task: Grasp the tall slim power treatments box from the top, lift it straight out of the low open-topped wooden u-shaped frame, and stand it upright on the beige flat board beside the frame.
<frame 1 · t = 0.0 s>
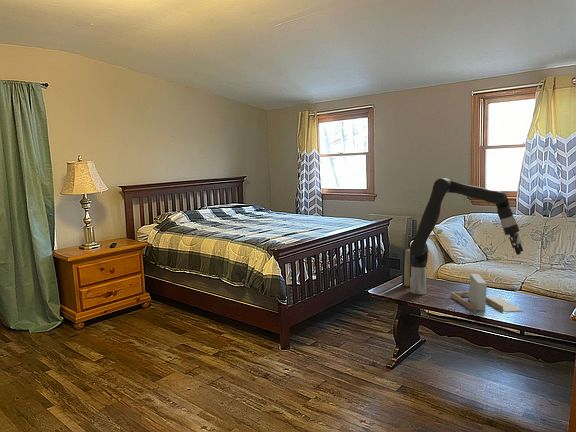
hand: (520, 252, 242), 31 cm above the table, tool tilted 20°, fingers open, 8 cm apart
skincare box: (477, 305, 252), resting in wooden u-shaped frame
book: (414, 283, 299), on the table
wooden u-shaped frame: (477, 304, 252), on the table
beige flat board: (502, 304, 251), on the table
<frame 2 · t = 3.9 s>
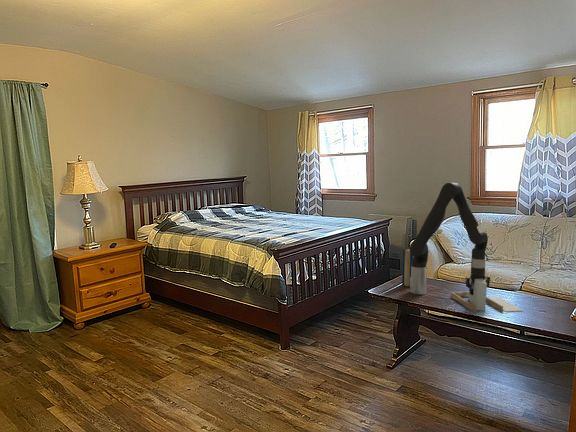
hand: (477, 294, 252), 6 cm above the table, tool pointing down, fingers closed on skincare box, 6 cm apart
skincare box: (477, 305, 252), resting in wooden u-shaped frame, touching gripper
everything else where it was.
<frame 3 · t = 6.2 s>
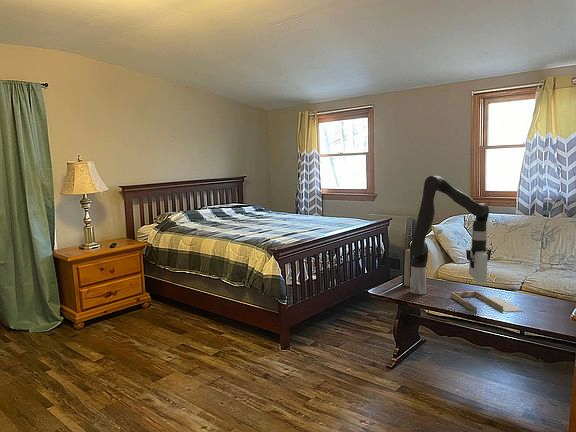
hand: (477, 267, 250), 22 cm above the table, tool pointing down, fingers closed on skincare box, 6 cm apart
skincare box: (477, 278, 251), point 16 cm above the table, touching gripper
everything else where it was.
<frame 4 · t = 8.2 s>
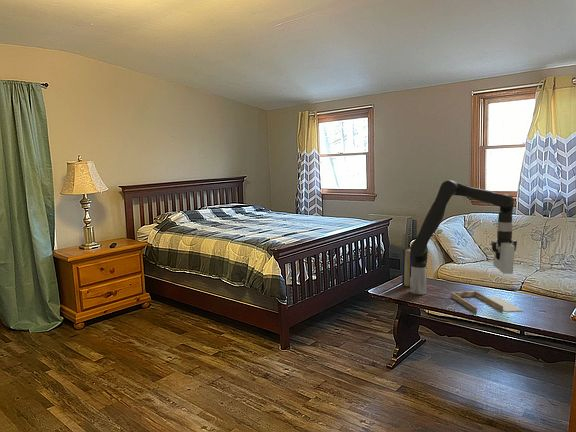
hand: (503, 258, 248), 27 cm above the table, tool pointing down, fingers closed on skincare box, 6 cm apart
skincare box: (503, 269, 249), point 20 cm above the table, touching gripper
everything else where it was.
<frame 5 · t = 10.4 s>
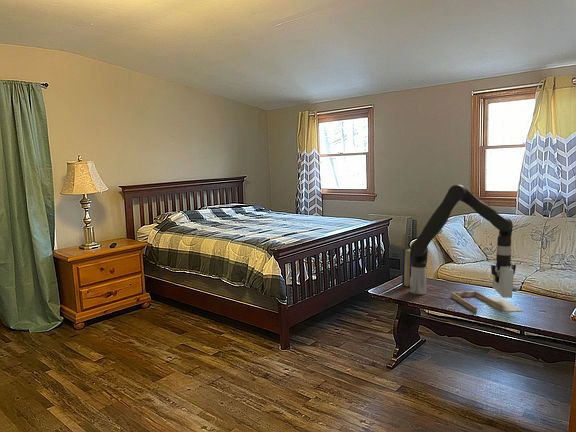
hand: (502, 282, 250), 13 cm above the table, tool pointing down, fingers closed on skincare box, 6 cm apart
skincare box: (502, 292, 251), point 7 cm above the table, touching gripper
everything else where it was.
when the fingers open (7 cm above the table, at t = 12.2 s): skincare box stays where it is, resting on beige flat board.
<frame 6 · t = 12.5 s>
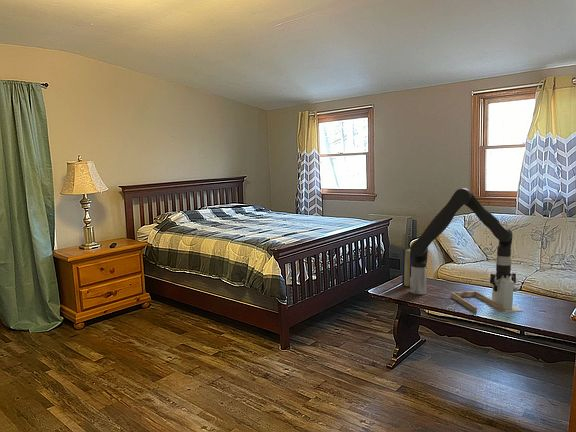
hand: (502, 291, 251), 8 cm above the table, tool pointing down, fingers open, 8 cm apart
skincare box: (502, 304, 252), resting on beige flat board
everything else where it was.
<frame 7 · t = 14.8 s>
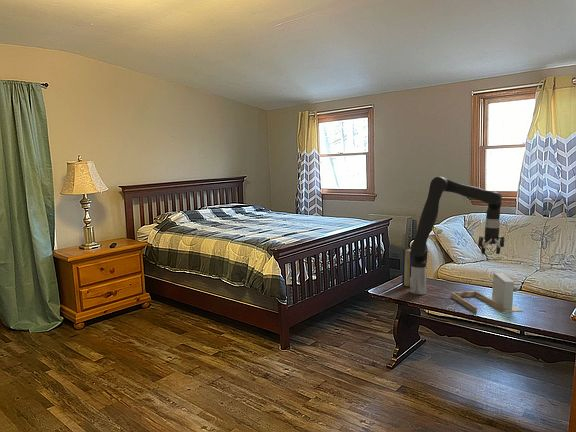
hand: (490, 254, 253), 29 cm above the table, tool pointing down, fingers open, 8 cm apart
nothing on the table moved.
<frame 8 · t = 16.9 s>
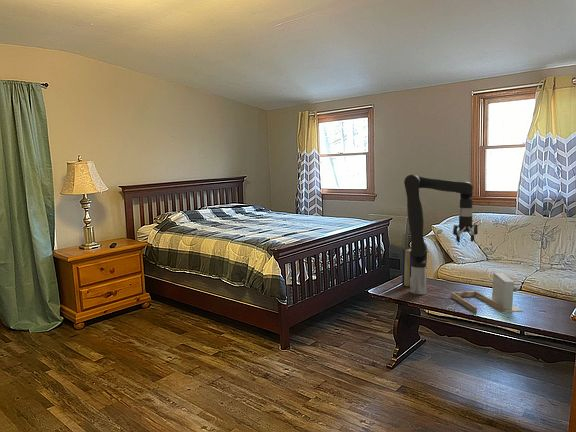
hand: (465, 241, 264), 34 cm above the table, tool pointing down, fingers open, 8 cm apart
nothing on the table moved.
at the end: skincare box inside the target area (0.1 cm from its centre), resting on beige flat board; skincare box tilted 0°; the gripper is holding nothing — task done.
